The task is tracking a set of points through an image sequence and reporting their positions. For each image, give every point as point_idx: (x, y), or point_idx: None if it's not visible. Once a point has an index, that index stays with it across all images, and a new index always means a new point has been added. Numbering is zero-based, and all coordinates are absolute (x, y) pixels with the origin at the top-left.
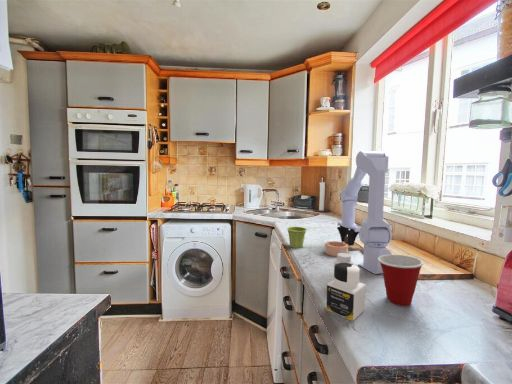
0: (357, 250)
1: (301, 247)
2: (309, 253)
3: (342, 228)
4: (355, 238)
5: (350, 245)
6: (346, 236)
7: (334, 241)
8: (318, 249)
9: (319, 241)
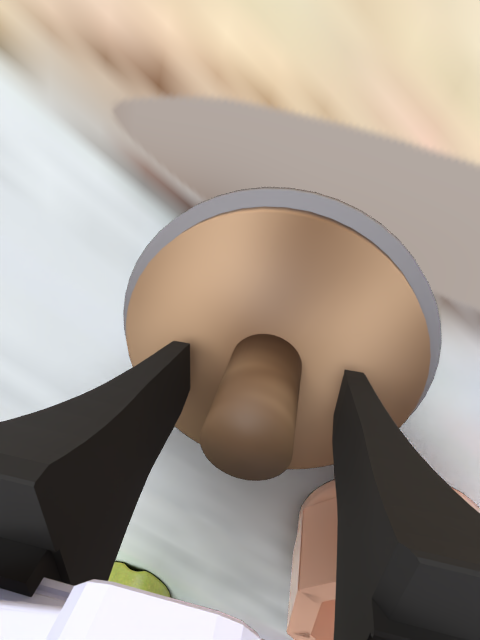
0: (438, 348)
1: (164, 585)
2: (285, 615)
3: (87, 578)
4: (408, 445)
5: (287, 338)
6: (213, 441)
7: (306, 599)
8: (227, 542)
9: (17, 417)
